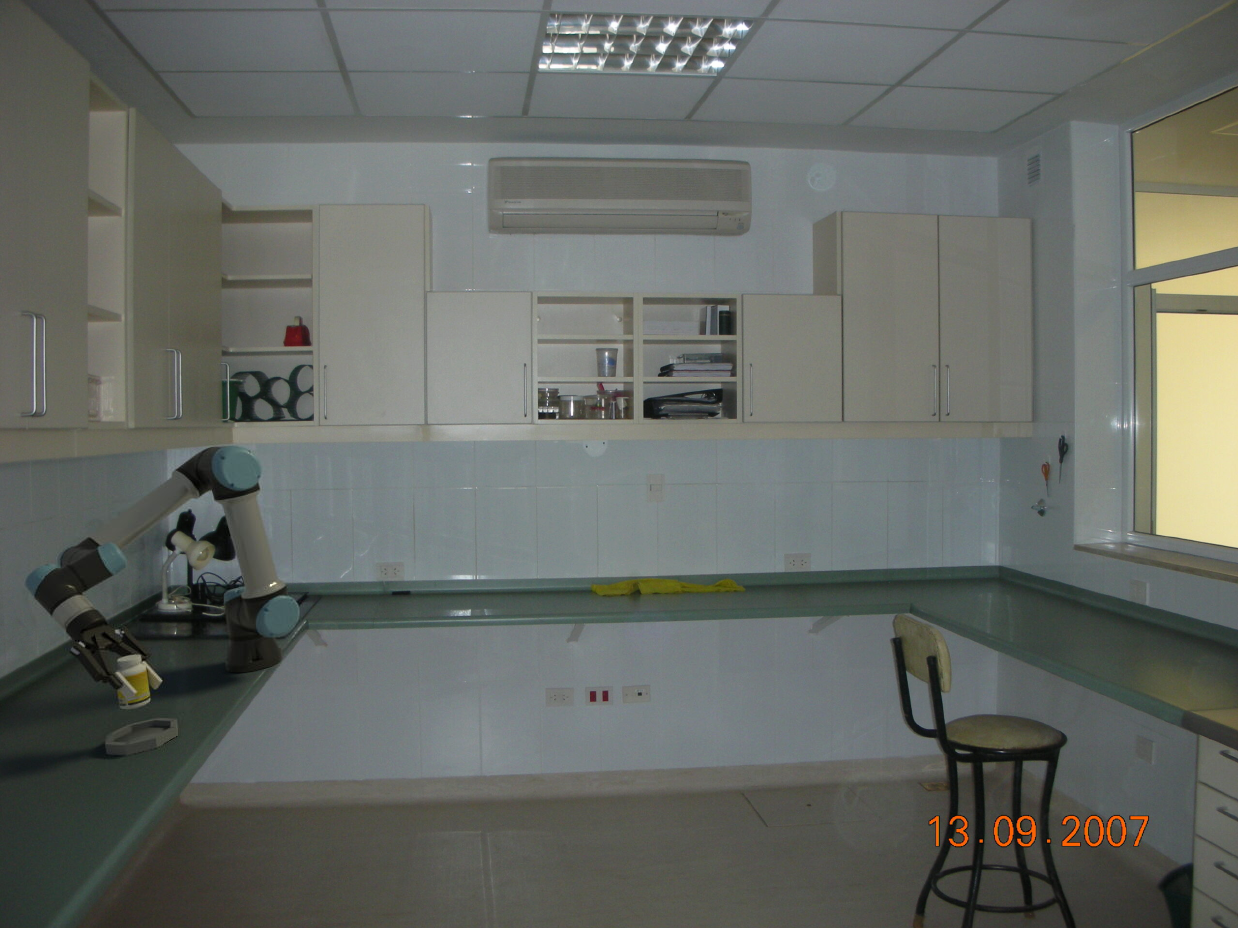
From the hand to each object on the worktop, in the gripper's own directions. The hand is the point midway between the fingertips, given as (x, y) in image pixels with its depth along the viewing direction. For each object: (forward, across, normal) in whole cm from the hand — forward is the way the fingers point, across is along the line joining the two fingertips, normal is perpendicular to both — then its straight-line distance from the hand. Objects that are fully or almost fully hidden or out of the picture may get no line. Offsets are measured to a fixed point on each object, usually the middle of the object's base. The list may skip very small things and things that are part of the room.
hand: (145, 690), depth 184 cm
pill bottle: (0, 0, -5) cm, 5 cm away
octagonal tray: (+6, 0, -11) cm, 13 cm away
